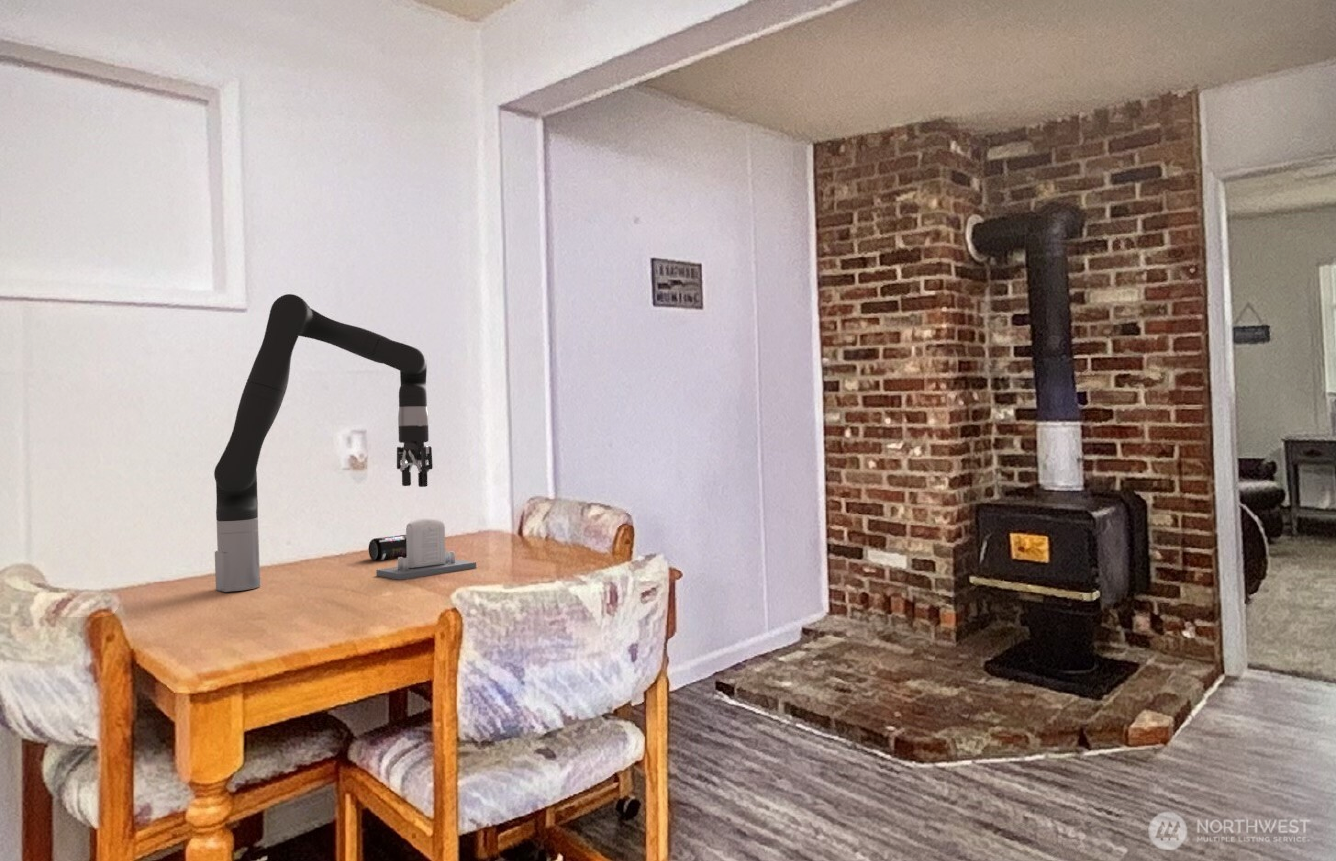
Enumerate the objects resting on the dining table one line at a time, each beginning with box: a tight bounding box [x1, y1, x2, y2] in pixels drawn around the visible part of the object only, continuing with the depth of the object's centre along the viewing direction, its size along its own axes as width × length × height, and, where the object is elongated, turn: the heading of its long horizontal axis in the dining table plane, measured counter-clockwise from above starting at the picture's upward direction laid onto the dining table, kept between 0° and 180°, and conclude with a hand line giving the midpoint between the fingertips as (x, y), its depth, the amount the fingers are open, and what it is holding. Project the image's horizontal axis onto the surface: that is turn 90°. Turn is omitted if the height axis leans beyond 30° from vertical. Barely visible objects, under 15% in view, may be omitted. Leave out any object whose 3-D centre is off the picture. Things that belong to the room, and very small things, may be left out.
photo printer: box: [405, 517, 446, 568], centre depth 226 cm, size 10×4×12 cm, turn 135°
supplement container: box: [368, 534, 407, 562], centre depth 252 cm, size 7×7×10 cm
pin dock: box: [375, 550, 477, 581], centre depth 226 cm, size 12×22×4 cm, turn 136°
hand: (414, 486), depth 227 cm, fingers open, 8 cm apart
